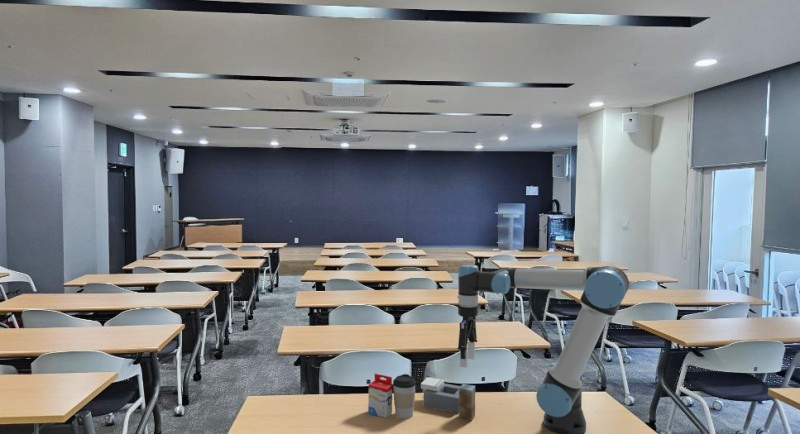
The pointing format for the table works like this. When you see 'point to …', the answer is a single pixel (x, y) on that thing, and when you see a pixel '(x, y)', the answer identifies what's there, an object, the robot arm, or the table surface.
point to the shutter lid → (432, 384)
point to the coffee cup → (404, 396)
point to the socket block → (443, 398)
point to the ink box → (380, 396)
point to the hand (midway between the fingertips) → (467, 362)
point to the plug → (467, 402)
